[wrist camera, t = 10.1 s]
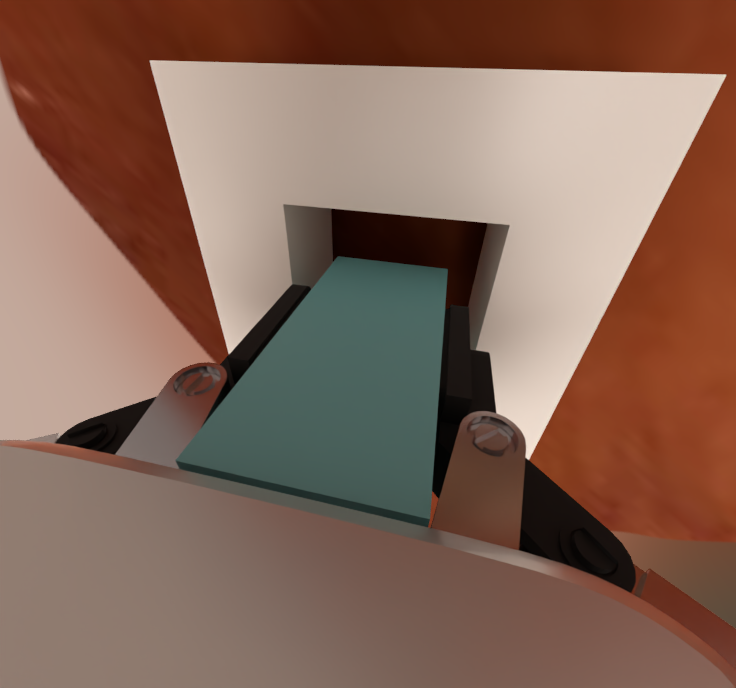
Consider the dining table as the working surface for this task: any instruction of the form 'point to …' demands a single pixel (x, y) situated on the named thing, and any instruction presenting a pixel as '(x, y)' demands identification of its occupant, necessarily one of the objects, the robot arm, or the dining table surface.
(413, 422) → the teal post
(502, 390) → the well block
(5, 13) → the dining table surface
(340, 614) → the robot arm
